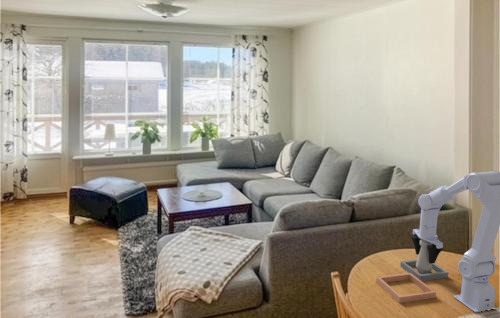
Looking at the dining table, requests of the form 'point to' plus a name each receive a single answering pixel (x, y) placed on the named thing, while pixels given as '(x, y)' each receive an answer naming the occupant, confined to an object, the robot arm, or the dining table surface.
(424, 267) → the salt shaker
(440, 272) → the grey square frame
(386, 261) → the dining table surface
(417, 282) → the salmon pink square frame
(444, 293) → the dining table surface
